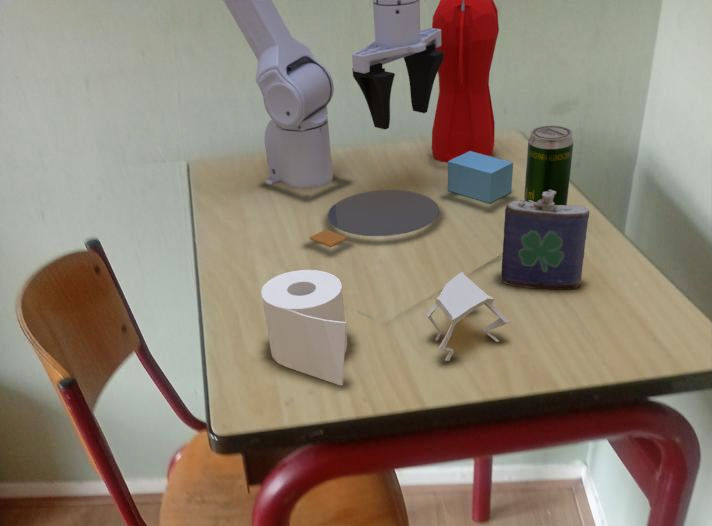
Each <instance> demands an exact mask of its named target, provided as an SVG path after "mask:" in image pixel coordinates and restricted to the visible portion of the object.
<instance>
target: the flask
mask: <svg viewBox="0 0 712 526" xmlns="http://www.w3.org/2000/svg"><path fill="white" fill-rule="evenodd" d="M548 191H549V192H547V191H545V192H543V194H542V196H543V198H542V199H541V200H538V201H537V203H536V202H533V201H531V200H529V202H526V201H525V198H524V197H523V198H521V199H520V200H514V201H510V202H508V203H507V204H506V206H505V209H504V222H503V223H504V225H503V240H502V241H503V242H502V254H501V255H502V258H501V281H502V283H504V284H506V285H510V286H515V287H525V288H529V289H538V288H540V289H548V290H571V289H573V290H574V289H577V288H579V287H580V284H581V282H582V274H583V264H584V258H585V247H586V239H587V231H588V224H589V218H590V210H589V208H588V207H586V206H585V205H580V204H579V205H578V204H575V205H574V204H573V205H572V204H571V205H568V204H567V206H565V205H554V204H555V203H554V202H553V198H554V195H555V194H556V191H552V190H548Z"/></svg>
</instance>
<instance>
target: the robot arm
mask: <svg viewBox="0 0 712 526" xmlns="http://www.w3.org/2000/svg"><path fill="white" fill-rule="evenodd" d="M223 2H224V4H225V6H226V7H227V10H228V11H229V13H230V15H231V16H232V18H233V20H234V21H235V23H236V25H237V27H238V29H239V30H240V32H241V33H242V35H243V37H244V39H245V41H246V42H247V44H248V46H249V47H250V49H251V51H252V52H253V55H254V56H255V58H256V59H257V66H256V74H255V83H256V84H257V86H258V88H259V90H260V92H261V96H262V98H263V105H264V109H265V111H266V113H267V115H268V117H269V118H270V120H269V121H268V123H267V125H266V127H265V130H264V138H263V139H264V147H265V149H264V150H265V154H266V155H265V156H266V162H267V169H268V175H269V179H267V180H265V184H266V186H272V185H273V184H276V183H278V182H281V183H284V184H285V185H286V186H288V187H289V188H295V189H301V190H302V189H303V190H304V189H305V190H306V189H315V188H321V187H323V186H326V185H328V184H329V183H331V182H332V181H333V180H334V173H333V161H332V151H331V140H330V139H331V138H330V129H329V127H330V126H329V118H328V105H329V104H330V102H331V101H332V99H333V97H334V91H335V89H334V87H335V86H334V81H333V77H332V75H331V74H330V71H329V70H328V69H327V67H326V66H325V65H323V64H322V63H321V62H319V60H318V59H316V57H315V56H314V54H313V53H312V51H311V49H310V48H309V47H308V45H305V44H304V43H302V42H300V41H299V40H297V39H296V38H294V37H293V36H292V34H291V32H290V30H289V29H288V27H287V25H286V23H285V21H284V20H283V17H282V16H281V14H280V12H279V10H278V8H277V7H276V5H275V3H274V2H273V0H223ZM420 7H421V0H372V10H373V26H374V27H373V28H374V29H373V30H374V41H373V42H372V43H370V44H368V45H367V46H365V47H364V48H362V49H361V50H358V51H356V52H354V53H352V54H351V60H352V77H353V79H354V80H355V81H356V83H357V85H358V87H359V89H360V90H361V92H362V94H363V96H364V99H365V101H366V105H367V106H368V110H369V113H370V116H371V119H372V122H373V126H374V128H376V129H381V130H388V129H389V128H390V123H391V95H392V89H393V83H394V80H395V77H396V73H394V72H391V71H386V68H385V67H383V66H384V65H386V64H389V63H392V62H395V61H397V60H400V59H403V60H404V63H405V67H406V72H407V76H408V81H409V90H410V103H411V109H412V111H413V112H416V113H421V114H426V113H428V109H429V105H430V101H431V96H432V92H433V86H434V83H435V80H436V77H437V76H438V70H439V67H440V65H441V63H442V61H443V60H444V52H443V51H441V50H435V48H437V47H440V46H441V29H434V28H432V27H428V28H425V29H421V8H420Z"/></svg>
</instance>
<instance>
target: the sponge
mask: <svg viewBox="0 0 712 526" xmlns="http://www.w3.org/2000/svg"><path fill="white" fill-rule="evenodd" d="M513 174H514V162H513V161H509V160H505V159H502V158H497V157H493V156H492V157H490V156H487V155H483V154H479V153H475V152H471V151H469V152H467V153H465V154H462V155H460V156H458V157H456V158H454V159H452V160H450V161H448V162H447V192H449V193H453V194H456V195H460V196H462V197H467V198H470V199H473V200H476V201H480V202H483V203H486V204H489V205H491V204H493V203H495V202H496V201H498V200H500V199H502V198H505V197H506V196H508V195H510V194H511V193H512V188H513Z"/></svg>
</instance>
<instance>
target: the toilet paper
mask: <svg viewBox="0 0 712 526" xmlns="http://www.w3.org/2000/svg"><path fill="white" fill-rule="evenodd" d="M260 294H261V300H262V307H263V312H264V317H265V323H266V324H265V325H266V329H267V336H268V342H269V347H270V353H271V358H272V359H273V360H274V361H275V362H276V363H277V364H279V365H281V366H283V367H285V368H288V369H291V370H294V371H297V372H299V373H303V374H305V375H308V376H311V377H313V378H317V379H320V380H323V381H326V382H330V383H332V384H335V385H338V386H341V387H342V386H343V385H344V373H345V372H344V371H345V357H346V356H345V355H346V353H347V349H348V337H347V321H346V314H345V303H344V302H345V301H344V293H343V286H342V282H341V279H339V278H338V277H337V276H336V275H334V274H332V273H329V272H327V271H324V270H323V271H322V270H316V269H300V270H298V269H297V270H293V271H292V270H291V271H288V272H285V273H281V274H278V275H276V276H274V277H272V278H271V279H269V280H267V282H265V284H263V286H262V288H261V290H260Z"/></svg>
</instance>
